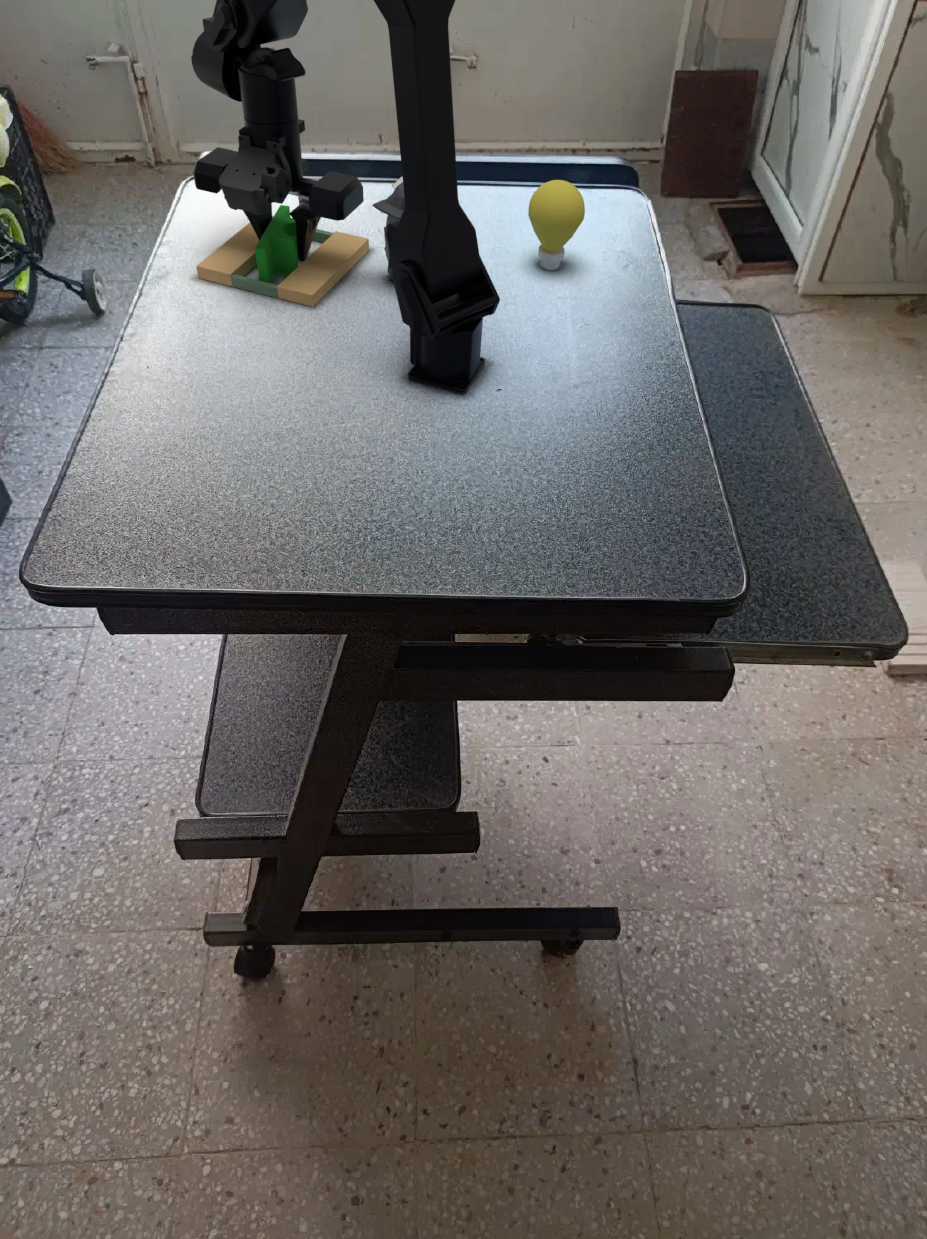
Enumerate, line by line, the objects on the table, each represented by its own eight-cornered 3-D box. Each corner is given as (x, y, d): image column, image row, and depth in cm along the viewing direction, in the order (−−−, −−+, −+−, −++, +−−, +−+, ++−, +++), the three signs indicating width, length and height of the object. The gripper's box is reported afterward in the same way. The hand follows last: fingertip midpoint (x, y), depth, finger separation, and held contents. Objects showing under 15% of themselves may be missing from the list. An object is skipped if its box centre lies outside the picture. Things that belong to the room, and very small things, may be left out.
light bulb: (538, 246, 114) (547, 165, 106) (585, 262, 112) (598, 179, 104) (513, 267, 110) (520, 184, 103) (561, 284, 108) (573, 200, 100)
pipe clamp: (291, 289, 104) (287, 251, 101) (259, 286, 105) (254, 248, 101) (313, 244, 112) (310, 207, 108) (284, 241, 112) (279, 204, 108)
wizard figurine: (366, 278, 107) (362, 174, 98) (401, 263, 109) (400, 160, 100) (413, 305, 103) (414, 200, 94) (448, 289, 106) (452, 186, 97)
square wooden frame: (369, 250, 111) (368, 238, 110) (313, 307, 102) (312, 295, 101) (262, 225, 114) (260, 213, 113) (198, 278, 105) (196, 266, 104)
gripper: (151, 125, 92) (180, 269, 104) (314, 159, 89) (325, 305, 100) (209, 90, 99) (230, 229, 111) (362, 121, 96) (367, 261, 107)
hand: (286, 256), depth 107 cm, fingers closed on pipe clamp, 4 cm apart
